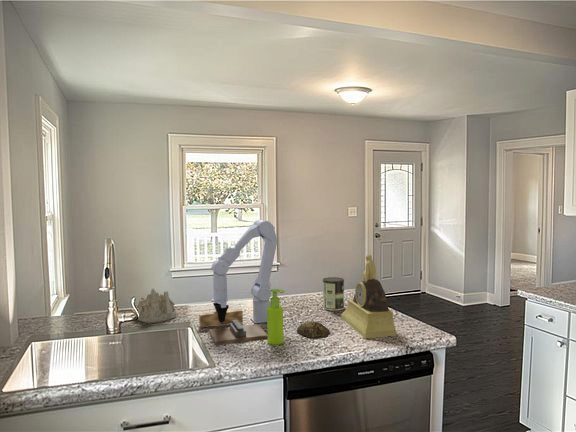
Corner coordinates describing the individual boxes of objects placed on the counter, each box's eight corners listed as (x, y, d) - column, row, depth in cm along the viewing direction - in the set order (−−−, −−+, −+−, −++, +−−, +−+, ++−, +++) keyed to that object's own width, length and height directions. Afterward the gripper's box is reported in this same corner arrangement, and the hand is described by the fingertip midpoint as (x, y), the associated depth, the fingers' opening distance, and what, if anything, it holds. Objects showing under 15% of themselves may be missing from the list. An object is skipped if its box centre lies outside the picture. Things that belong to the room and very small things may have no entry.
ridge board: (257, 326, 180) (257, 316, 180) (267, 338, 166) (267, 326, 166) (209, 332, 174) (209, 321, 174) (215, 344, 160) (215, 332, 159)
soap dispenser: (280, 346, 157) (279, 292, 156) (264, 342, 161) (263, 289, 160) (288, 341, 162) (287, 288, 161) (273, 338, 166) (272, 286, 165)
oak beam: (241, 320, 187) (241, 309, 187) (242, 322, 184) (242, 310, 184) (199, 325, 181) (199, 313, 181) (200, 327, 179) (199, 315, 178)
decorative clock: (341, 318, 192) (340, 251, 190) (368, 316, 194) (367, 250, 193) (365, 339, 164) (364, 260, 163) (396, 336, 167) (396, 259, 165)
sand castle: (180, 317, 195) (177, 284, 195) (143, 325, 186) (140, 291, 186) (168, 312, 208) (165, 281, 208) (133, 319, 199) (130, 287, 198)
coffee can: (343, 305, 214) (342, 276, 213) (345, 310, 203) (345, 281, 202) (322, 305, 214) (321, 277, 213) (323, 311, 203) (323, 281, 203)
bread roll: (293, 331, 175) (293, 319, 175) (320, 327, 180) (320, 315, 180) (307, 340, 164) (307, 327, 163) (335, 336, 168) (335, 323, 168)
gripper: (208, 286, 188) (209, 316, 188) (213, 293, 174) (214, 326, 175) (224, 284, 190) (225, 315, 191) (230, 291, 176) (231, 324, 177)
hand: (221, 320), depth 183 cm, fingers closed on oak beam, 3 cm apart
